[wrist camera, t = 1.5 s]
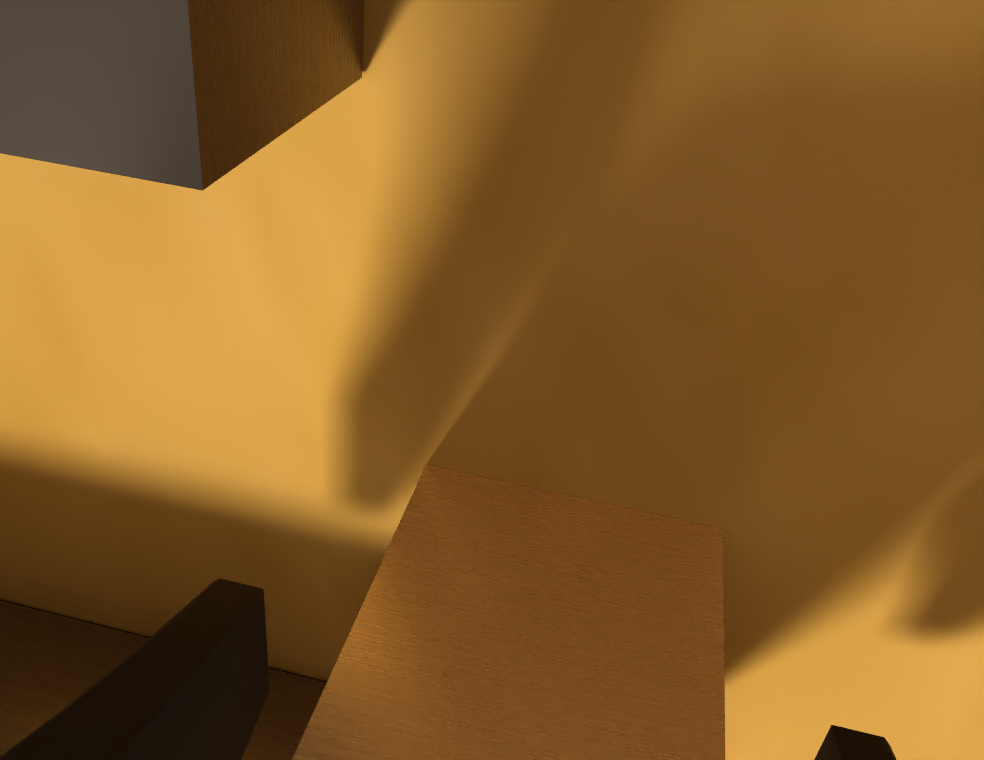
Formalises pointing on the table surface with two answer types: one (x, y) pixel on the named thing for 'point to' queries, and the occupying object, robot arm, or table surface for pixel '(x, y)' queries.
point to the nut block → (531, 634)
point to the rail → (166, 159)
